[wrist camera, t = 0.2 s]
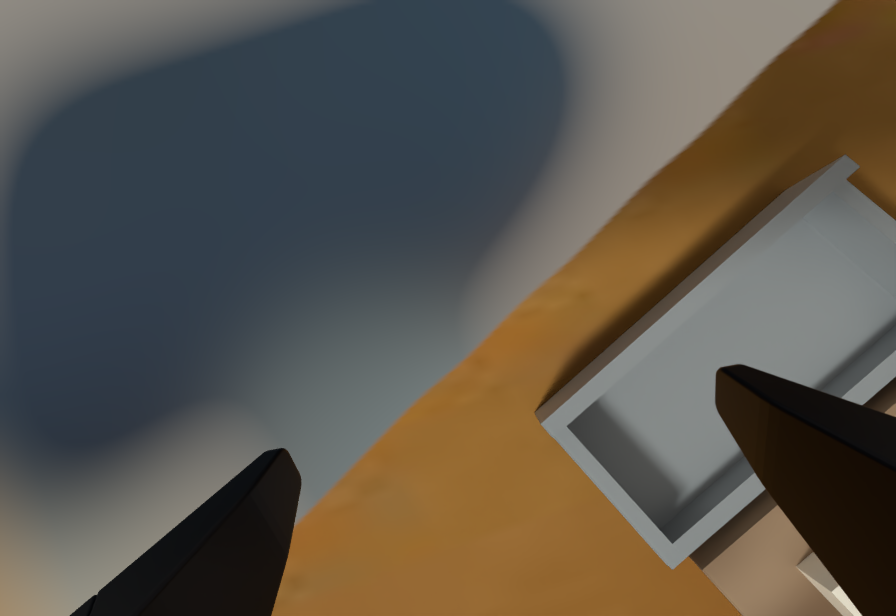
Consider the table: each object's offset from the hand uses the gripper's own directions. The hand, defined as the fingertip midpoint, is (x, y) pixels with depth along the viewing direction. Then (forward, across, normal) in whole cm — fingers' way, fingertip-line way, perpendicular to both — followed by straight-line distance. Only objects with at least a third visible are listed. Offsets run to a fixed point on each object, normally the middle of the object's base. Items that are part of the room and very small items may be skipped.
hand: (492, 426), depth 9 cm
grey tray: (+12, -12, +9) cm, 19 cm away
